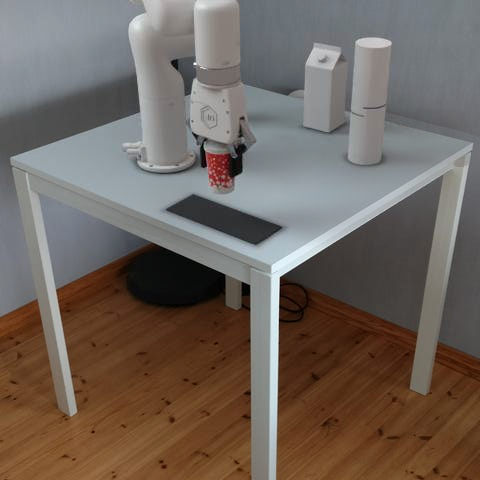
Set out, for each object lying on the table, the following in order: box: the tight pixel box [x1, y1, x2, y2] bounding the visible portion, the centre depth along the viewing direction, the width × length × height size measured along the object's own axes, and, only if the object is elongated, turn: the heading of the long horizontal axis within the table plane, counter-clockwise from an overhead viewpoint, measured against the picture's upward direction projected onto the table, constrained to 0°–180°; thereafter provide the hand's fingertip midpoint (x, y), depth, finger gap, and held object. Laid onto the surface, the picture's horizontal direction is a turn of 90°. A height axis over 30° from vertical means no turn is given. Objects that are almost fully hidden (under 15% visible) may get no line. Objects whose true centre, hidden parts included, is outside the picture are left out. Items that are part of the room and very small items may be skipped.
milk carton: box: [302, 42, 349, 134], centre depth 183 cm, size 7×7×19 cm
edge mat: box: [165, 193, 283, 246], centre depth 150 cm, size 22×8×1 cm, turn 51°
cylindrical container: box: [347, 37, 393, 166], centre depth 166 cm, size 7×7×25 cm
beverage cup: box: [204, 139, 237, 195], centre depth 143 cm, size 6×6×14 cm
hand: (221, 169), depth 145 cm, fingers closed on beverage cup, 6 cm apart
